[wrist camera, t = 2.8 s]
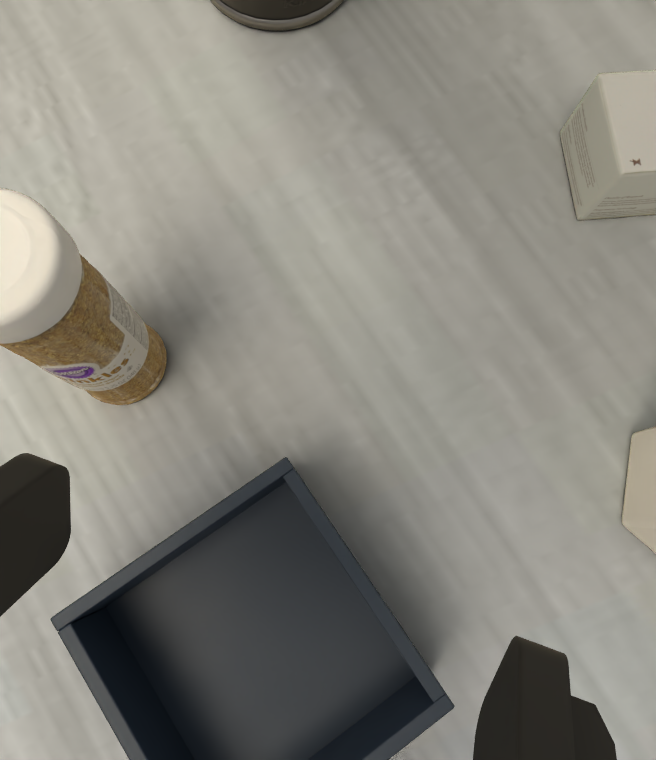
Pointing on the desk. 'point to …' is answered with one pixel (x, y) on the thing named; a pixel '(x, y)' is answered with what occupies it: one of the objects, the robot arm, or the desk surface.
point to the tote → (251, 641)
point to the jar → (641, 488)
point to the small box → (613, 147)
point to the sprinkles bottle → (69, 310)
